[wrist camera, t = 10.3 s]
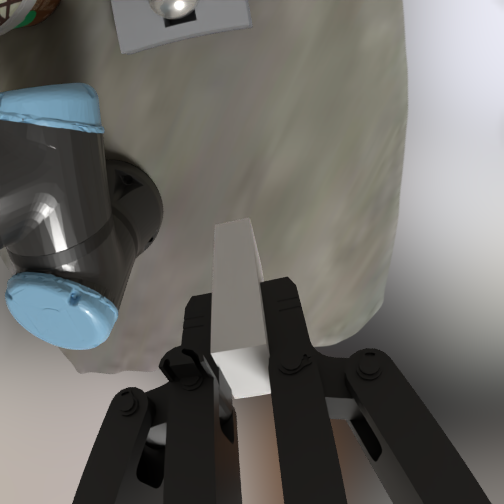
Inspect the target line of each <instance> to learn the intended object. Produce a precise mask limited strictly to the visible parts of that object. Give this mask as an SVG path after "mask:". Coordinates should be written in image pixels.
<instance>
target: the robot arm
mask: <svg viewBox="0 0 504 504" xmlns="http://www.w3.org/2000/svg"><path fill="white" fill-rule="evenodd" d="M103 133H104V127H103V126H102V124H101V117H100V108H99V99H98V95H97V93H96V91H95V90H94V88H93V87H91V86H90V85H88V84H85V83H66V84H55V85H46V86H38V87H31V88H24V89H17V90H11V91H6V92H1V93H0V249H1V248H3V247H6V249H7V251H8V254H9V257H10V259H11V262H12V264H13V267H14V271H15V274H14V275H13V276H12V277H11V278H10V279H9V280H8V283H7V284H8V285H7V290H6V293H5V299H6V303H7V306H8V308H9V310H10V312H11V314H12V315H13V317H14V318H15V319H16V320H17V321H18V323H19V324H20V325H22V326H23V327H24V328H25V329H26V330H27V331H29V332H30V333H32V334H33V335H35V336H36V337H38V338H40V339H42V340H44V341H46V342H48V343H50V344H53V345H56V346H59V347H63V348H67V349H75V350H84V349H91V348H94V347H96V346H98V345H100V344H101V343H103V342H104V341H105V340H106V339H107V338H108V336H109V335H110V332H111V330H112V328H113V326H114V323H115V322H116V320H117V318H118V311H119V307H120V304H121V301H122V298H123V295H124V291H125V288H126V285H127V282H128V279H129V276H130V273H131V270H132V267H133V264H134V261H135V259H136V258H137V257H138V256H139V255H140V254H141V253H142V252H144V251H145V250H146V249H147V248H148V247H149V246H150V245H151V244H152V243H153V241H154V240H155V238H156V236H157V234H158V232H159V229H160V226H161V223H162V219H163V204H162V199H161V196H160V193H159V191H158V189H157V187H156V186H155V184H154V183H153V181H152V180H151V179H150V178H149V177H148V176H147V175H146V174H145V173H144V172H143V171H141V170H140V169H138V168H137V167H135V166H133V165H131V164H129V163H126V162H123V161H118V160H105V152H104V141H103ZM159 368H160V370H161V371H162V372H163V374H164V375H165V376H166V378H167V379H168V380H169V382H168V383H166V384H164V385H162V386H160V387H158V388H155V389H153V390H150V391H148V392H145V393H144V392H143V391H142V390H141V389H138V388H136V387H128V388H126V389H123V390H121V391H120V392H119V393H117V394H116V395H115V397H114V398H113V400H112V401H111V404H110V406H109V409H108V411H107V413H106V416H105V418H104V420H103V423H102V425H101V428H100V430H99V433H98V435H97V438H96V441H95V443H94V445H93V448H92V451H91V453H90V456H89V459H88V461H87V464H86V466H85V469H84V472H83V475H82V477H81V480H80V483H79V486H78V488H77V491H76V494H75V497H74V500H73V503H72V504H242V495H241V480H240V466H239V452H238V451H239V450H238V436H237V435H238V434H237V418H236V412H235V409H234V407H233V405H232V394H233V396H234V398H235V399H238V398H245V397H252V396H258V395H265V394H271V396H272V405H273V413H274V420H275V429H276V438H277V446H278V454H279V462H280V470H281V478H282V488H283V496H284V504H347V499H346V495H345V489H344V484H343V479H342V474H341V469H340V464H339V459H338V454H337V450H336V445H335V441H334V436H333V431H332V426H331V422H330V418H331V419H345V420H346V422H347V423H348V425H349V427H350V429H351V430H352V432H353V434H354V435H355V437H356V439H357V441H358V443H359V444H360V446H361V448H362V450H363V451H364V453H365V455H366V457H367V458H368V460H369V462H370V464H371V465H372V467H373V469H374V471H375V472H376V474H377V476H378V478H379V479H380V481H381V483H382V484H383V486H384V488H385V490H386V492H387V493H388V495H389V497H390V499H391V500H392V502H393V504H491V502H490V501H489V499H488V498H487V496H486V494H485V493H484V492H483V490H482V488H481V487H480V485H479V483H478V482H477V480H476V479H475V477H474V476H473V474H472V473H471V471H470V470H469V468H468V467H467V465H466V464H465V462H464V461H463V459H462V458H461V456H460V455H459V453H458V452H457V450H456V449H455V447H454V446H453V445H452V443H451V442H450V440H449V439H448V437H447V436H446V434H445V433H444V431H443V430H442V428H441V427H440V426H439V425H438V423H437V421H436V420H435V419H434V417H433V416H432V414H431V413H430V412H429V410H428V409H427V407H426V406H425V404H424V403H423V402H422V400H421V399H420V398H419V396H418V395H417V393H416V392H415V391H414V389H413V388H412V386H411V385H410V384H409V382H407V380H406V378H405V377H404V376H403V374H402V373H401V372H400V370H399V369H398V368H397V366H396V365H395V364H394V362H393V361H392V360H391V358H390V357H389V356H388V355H387V354H386V353H384V352H382V351H380V350H377V349H367V348H366V349H363V350H359V351H357V352H356V353H354V354H353V355H351V356H350V358H334V357H328V356H325V355H322V354H321V353H319V352H318V351H316V350H315V348H314V347H313V346H312V344H311V342H310V339H309V334H308V330H307V326H306V322H305V318H304V314H303V311H302V307H301V303H300V299H299V295H298V291H297V287H296V285H295V284H294V283H293V282H292V281H291V280H290V279H289V278H288V277H284V278H279V279H274V280H269V281H264V279H263V272H262V266H261V262H260V258H259V254H258V249H257V245H256V241H255V237H254V233H253V229H252V225H251V220H250V217H249V218H244V219H239V220H235V221H230V222H226V223H221V224H217V225H215V234H214V255H213V280H212V293H208V294H202V295H197V296H192V297H191V299H190V300H189V302H188V304H187V306H186V307H185V315H184V324H183V334H182V344H181V346H178V347H175V348H173V349H171V350H170V351H168V352H167V353H166V354H165V355H164V356H163V358H162V359H161V361H160V364H159Z"/></svg>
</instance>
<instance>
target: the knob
mask: <svg viewBox="0 0 504 504" xmlns="http://www.w3.org/2000/svg"><path fill="white" fill-rule="evenodd" d="M198 2H199V0H149V5H150V7H151V9H152V10H153V11H154V12H155V13H156V14H158V15H159V16H161V17H164V18H166V19H180V18H183V17H186V16H187V15H189V14H190V13H192V12H193V11H194V9H195V8H196V7H197V5H198Z"/></svg>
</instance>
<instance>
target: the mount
mask: <svg viewBox="0 0 504 504" xmlns="http://www.w3.org/2000/svg"><path fill="white" fill-rule="evenodd" d="M111 4H112V9H113V14H114V20H115V25H116V30H117V35H118V40H119V44H120V49H121V54H125V53H127V55H129V54H134V53H137V52H140V51H143V50H147V49H150V48H154V47H157V46H161V45H165V44H168V43H172V42H176V41H181V40H185V39H189V38H194V37H198V36H203V35H208V34H214V33H219V32H225V31H231V30H238V29H245V28H252V27H253V26H252V20H251V14H250V9H249V3H248V0H199V2H198V5H197V7H196V8H195V9H194V11H193V12H192V13H190V14H189V15H187V16H186V17H183V18H180V19H166V18H164V17H161V16H159V15H158V14H156V13H155V12H154V11H153V10H152V9H151V7H150V5H149V0H111Z"/></svg>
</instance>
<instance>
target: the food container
mask: <svg viewBox="0 0 504 504" xmlns="http://www.w3.org/2000/svg"><path fill="white" fill-rule="evenodd" d="M60 1H61V0H0V35H3V34H5V33H7V32H9V31H10V30H11V29H14V28H20V27H27V26H33V25H36V24H38V23H40V22H42V21H44V20H45V19H46V18H47V17H49V16H50V15H51V14H52V13H53V11H54V10H55V9H56V8H57V6H58V5H59V3H60Z"/></svg>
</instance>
